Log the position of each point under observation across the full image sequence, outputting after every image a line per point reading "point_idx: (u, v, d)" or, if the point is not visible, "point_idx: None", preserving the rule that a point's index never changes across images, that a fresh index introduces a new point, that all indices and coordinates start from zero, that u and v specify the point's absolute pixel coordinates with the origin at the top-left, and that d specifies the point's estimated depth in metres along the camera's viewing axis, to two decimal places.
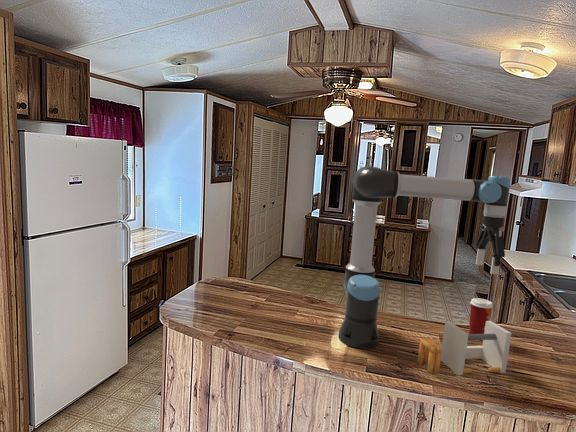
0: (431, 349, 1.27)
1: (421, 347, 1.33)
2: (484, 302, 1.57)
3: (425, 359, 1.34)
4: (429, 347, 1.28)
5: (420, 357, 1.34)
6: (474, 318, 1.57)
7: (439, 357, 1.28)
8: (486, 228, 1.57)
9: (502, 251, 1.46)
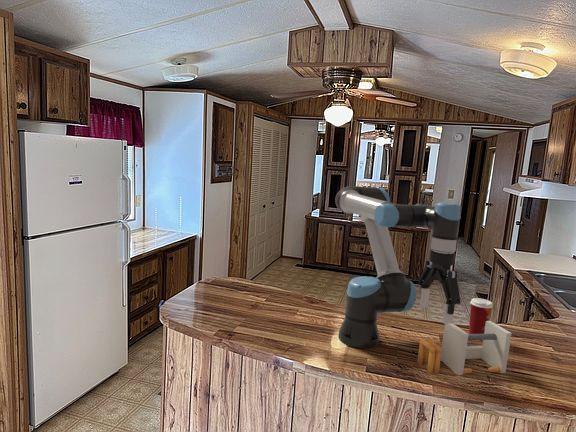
0: (431, 349, 1.27)
1: (421, 347, 1.33)
2: (484, 302, 1.57)
3: (425, 359, 1.34)
4: (429, 347, 1.28)
5: (420, 357, 1.34)
6: (474, 318, 1.57)
7: (439, 357, 1.28)
8: (433, 265, 1.30)
9: (457, 297, 1.19)
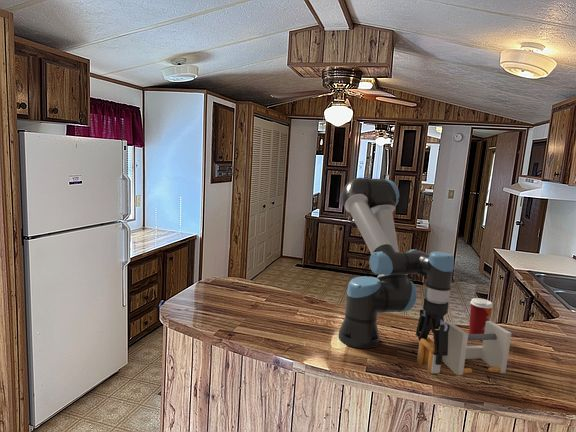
0: (431, 349, 1.27)
1: (421, 347, 1.33)
2: (484, 302, 1.57)
3: (425, 359, 1.34)
4: (429, 347, 1.28)
5: (420, 357, 1.34)
6: (474, 318, 1.57)
7: None
8: (427, 312, 1.32)
9: (445, 349, 1.24)
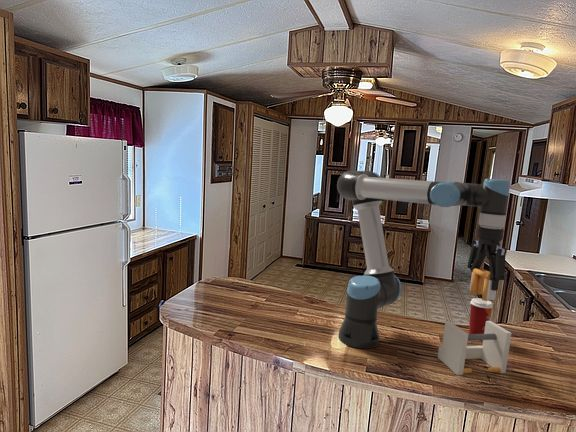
0: (486, 275, 1.27)
1: (474, 277, 1.33)
2: (484, 302, 1.57)
3: (478, 289, 1.34)
4: (484, 274, 1.28)
5: (473, 287, 1.33)
6: (474, 318, 1.57)
7: None
8: (480, 241, 1.31)
9: (502, 274, 1.23)
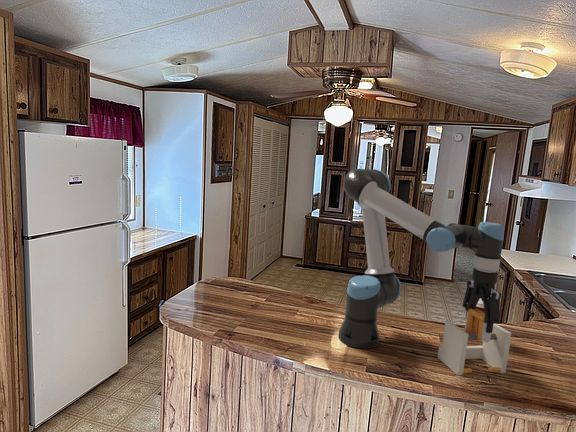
0: (481, 318, 1.29)
1: (469, 317, 1.35)
2: None
3: (473, 329, 1.36)
4: (479, 316, 1.30)
5: (468, 327, 1.35)
6: None
7: None
8: (475, 282, 1.34)
9: (497, 317, 1.25)
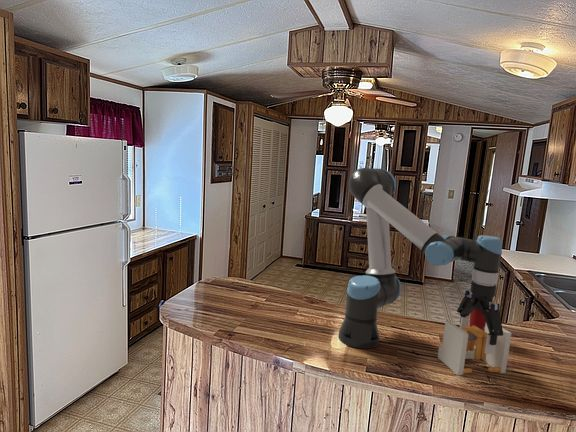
0: (479, 335, 1.30)
1: None
2: None
3: (470, 346, 1.37)
4: (476, 333, 1.31)
5: None
6: (474, 318, 1.57)
7: None
8: (474, 295, 1.34)
9: (500, 329, 1.24)
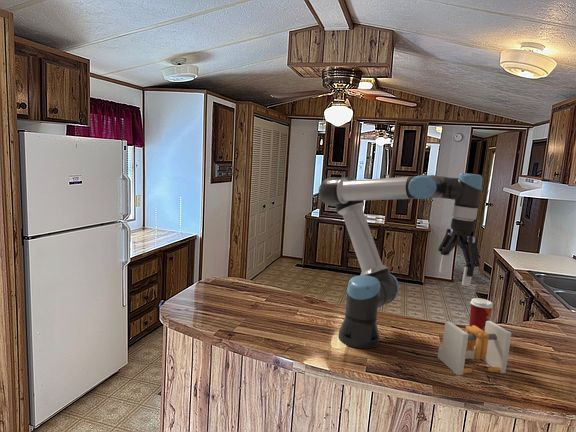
0: (479, 335, 1.30)
1: None
2: (484, 302, 1.57)
3: (470, 346, 1.37)
4: (476, 334, 1.31)
5: None
6: (474, 318, 1.57)
7: (486, 343, 1.30)
8: (454, 232, 1.39)
9: (477, 260, 1.28)
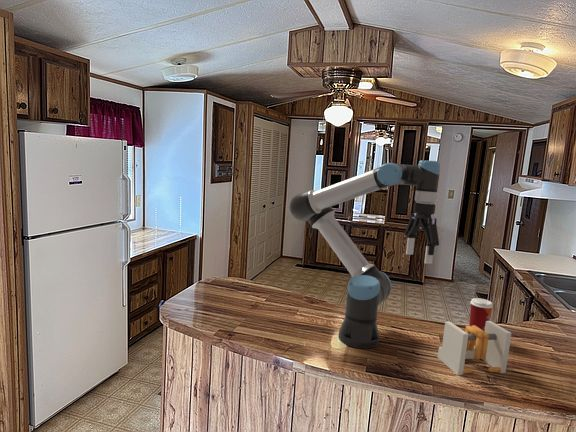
0: (479, 335, 1.30)
1: None
2: (484, 302, 1.57)
3: (470, 345, 1.37)
4: (476, 334, 1.31)
5: None
6: (474, 318, 1.57)
7: (486, 343, 1.30)
8: (417, 216, 1.50)
9: (436, 239, 1.39)
